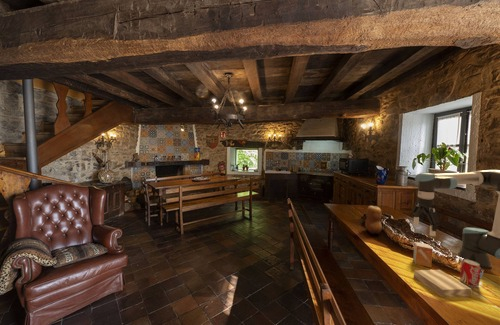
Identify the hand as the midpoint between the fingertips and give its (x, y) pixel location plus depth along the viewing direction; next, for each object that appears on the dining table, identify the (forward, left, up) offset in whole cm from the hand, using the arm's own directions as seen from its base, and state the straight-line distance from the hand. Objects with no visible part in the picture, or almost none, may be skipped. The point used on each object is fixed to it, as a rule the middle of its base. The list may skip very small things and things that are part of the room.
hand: (423, 231), depth 119 cm
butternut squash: (+2, -56, -26) cm, 62 cm away
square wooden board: (0, +14, -26) cm, 29 cm away
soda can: (-18, +10, -26) cm, 33 cm away
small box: (-6, -8, -26) cm, 28 cm away
